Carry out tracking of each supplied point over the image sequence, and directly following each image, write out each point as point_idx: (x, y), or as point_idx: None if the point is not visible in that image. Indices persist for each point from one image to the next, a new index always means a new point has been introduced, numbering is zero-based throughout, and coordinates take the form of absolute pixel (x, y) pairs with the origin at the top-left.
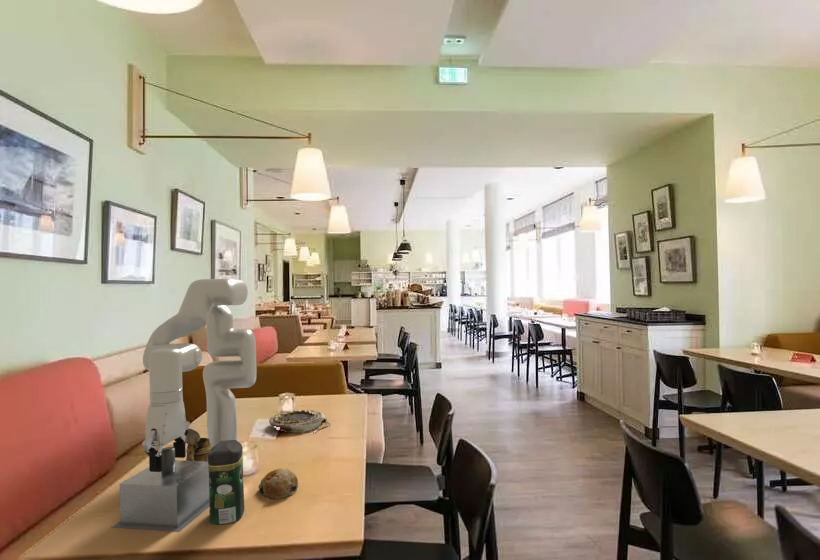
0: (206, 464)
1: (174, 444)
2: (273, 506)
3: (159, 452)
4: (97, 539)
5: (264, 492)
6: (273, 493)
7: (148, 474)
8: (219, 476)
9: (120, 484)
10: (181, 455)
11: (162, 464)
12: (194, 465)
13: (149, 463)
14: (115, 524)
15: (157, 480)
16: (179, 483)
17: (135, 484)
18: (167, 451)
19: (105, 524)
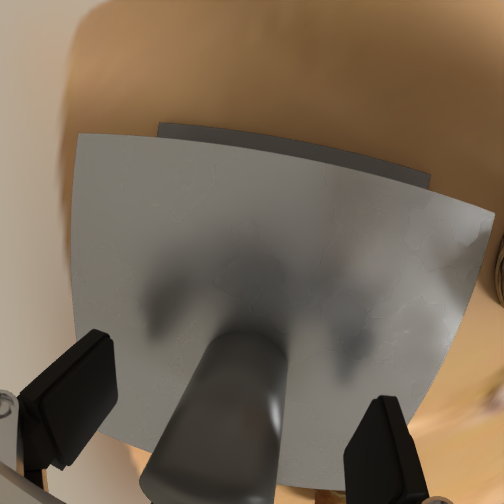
0: (330, 484)
1: (387, 492)
2: (281, 489)
3: (34, 474)
4: (113, 121)
5: None
6: (315, 498)
7: (209, 249)
8: None
9: (80, 139)
10: (349, 455)
11: (99, 425)
12: (331, 453)
13: (61, 356)
14: (176, 125)
15: (124, 347)
16: (117, 435)
17: (71, 243)
18: (153, 496)
19: (202, 77)
